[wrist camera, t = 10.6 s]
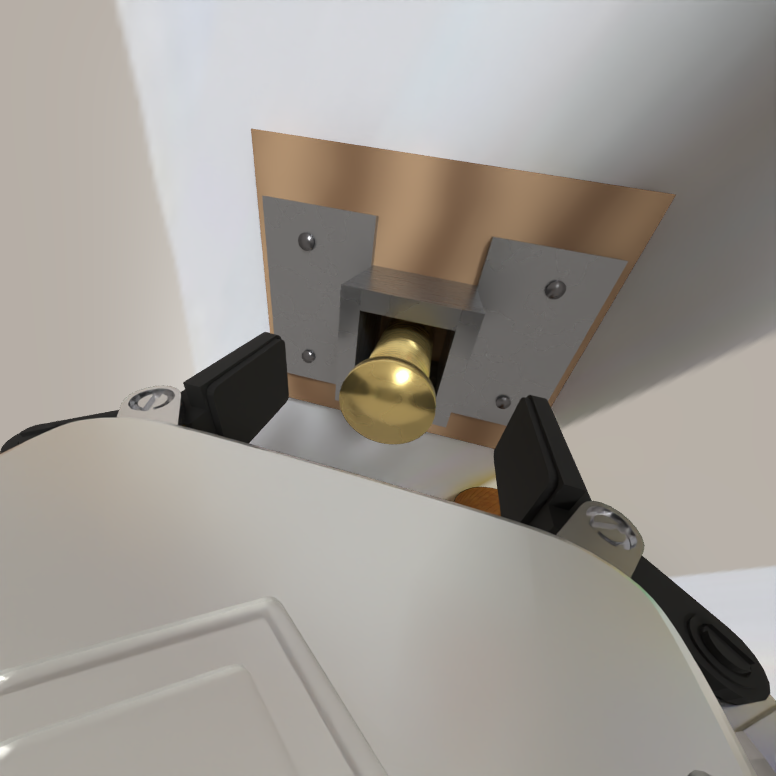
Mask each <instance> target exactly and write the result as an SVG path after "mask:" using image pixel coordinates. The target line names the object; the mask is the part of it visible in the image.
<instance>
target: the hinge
mask: <svg viewBox="0 0 776 776" xmlns="http://www.w3.org/2000/svg"><path fill="white" fill-rule="evenodd" d="M262 200H263V212H264V224H265V235H266V247H267V258H268V270H269V281H270V293H271V305H272V316H273V328H274V334H276V335H279V336H280V337H281V339H282V340H284V342H285V348H286V362H287V373H291V374H295V375H299V376H304V377H308V378H312V379H316V380H320V381H324V382H328V383H332V384H336V392H335V400H337V401H339V393H340V389H341V386H342V384H343V382H344V380H345V379H346V377H347V376H348V374H349V373H350V371H351V370H352V369H353V368H354V367H355V366H356V365H357V364H359V363H360V362H362V361H364V360H366V359H369V357H370V356H371V354H372V352H373V350H374V349H375V347H376V345H377V343H378V342H379V335H380V328H381V320H382V315H383V316H388V317H393V318H397V319H402V320H407V321H411V322H416V323H421V324H425V325H430V326H435V327H439V328H444V329H448V330H447V333H446V337H445V341H444V344H443V348H442V351H441V355H440V359H439V362H438V361H433V360H431V365H430V374H429V379H430V381H431V383H432V385H433V387H434V390H435V393H436V410H435V417H434V420H433V423H432V424H434V425H438V426H442V427H446V426H447V423H448V420H449V417H450V414H451V412H452V413H456V414H460V415H464V416H468V417H472V418H476V419H480V420H485V421H489V422H493V423H497V424H501V425H505V426H507V424H508V422H509V420H510V418H511V416H512V414H513V413H514V411H515V409H516V407H517V405H518V403H519V401H520V399H521V398H522V397H525V398H526V397H527V396H528V395H533V396H537V397H542V398H546V399H547V400H549V399H550V397H551V395H552V393H553V392H554V390H555V388H556V386H557V385H558V383H559V381H560V380H561V378H562V376H563V374H564V373H565V371H566V369H567V367H568V366H569V364H570V362H571V360H572V359H573V357H574V355H575V353H576V352H577V350H578V348H579V346H580V345H581V343H582V341H583V339H584V338H585V336H586V334H587V332H588V331H589V329H590V327H591V325H592V324H593V322H594V320H595V319H596V317H597V315H598V313H599V312H600V310H601V308H602V306H603V305H604V303H605V301H606V299H607V298H608V296H609V294H610V292H611V291H612V289H613V287H614V285H615V284H616V282H617V280H618V278H619V277H620V275H621V273H622V271H623V270H624V268H625V266H626V264H627V263H628V261H626V260H622V259H616V258H611V257H605V256H599V255H594V254H588V253H583V252H577V251H571V250H566V249H560V248H555V247H549V246H544V245H538V244H532V243H527V242H521V241H516V240H510V239H505V238H499V237H493V236H492V238H491V241H490V245H489V248H488V251H487V254H486V257H485V261H484V264H483V267H482V270H481V274H480V277H479V280H478V283H477V285H471V284H466V283H461V282H456V281H451V280H446V279H441V278H436V277H431V276H426V275H421V274H416V273H411V272H406V271H400V270H395V269H390V268H385V267H380V266H375V265H374V255H375V246H376V237H377V228H378V218H379V216H376V215H371V214H365V213H360V212H354V211H348V210H343V209H337V208H332V207H326V206H320V205H315V204H309V203H304V202H298V201H293V200H287V199H281V198H276V197H270V196H262Z"/></svg>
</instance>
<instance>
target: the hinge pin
mask: <svg viewBox="0 0 776 776" xmlns="http://www.w3.org/2000/svg"><path fill="white" fill-rule="evenodd" d="M434 333H435V326H430V325H425V324H421V323H416V322H411V321H407V320H402V319H397V318H393V317H392V319H391V320H390V322H389V324H388V326H387V327H386V329H385V331H384V333H383V334H382V336H381V338H380V340H379V342H378V343H377V345H376V347H375V349H374V350H373V352H372V354H371V356H370V357H369V359H366V360H364V361H362V362H360V363H359V364H357V365H356V366H355V367H354V368H353V369H352V370H351V371H350V373H349V374H348V376H347V377H346V379H345V380H344V382H343V384H342V386H341V389H340V393H339V404H340V408H341V412H342V414H343V416H344V418H345V419H346V421H347V422H348V423H349V425H350V426H351V427H352V428H353V429H354V430H356V431H357V432H358V433H359V434H361V435H363V436H364V437H366V438H368V439H370V440H373V441H376V442H379V443H384V444H403V443H407V442H410V441H413V440H415V439H417V438H419V437H420V436H422V435H423V434H424V433H425V432H426V431H427V430H428V429H429V428H430V426H431V425H432V423H433V420H434V417H435V410H436V393H435V390H434V387H433V385H432V383H431V381H430V379H429V374H430V365H431V357H432V349H433V341H434Z"/></svg>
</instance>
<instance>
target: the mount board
mask: <svg viewBox="0 0 776 776" xmlns="http://www.w3.org/2000/svg"><path fill="white" fill-rule="evenodd" d="M251 134H252V144H253V155H254V166H255V176H256V187H257V197H258V208H259V219H260V229H261V240H262V251H263V261H264V272H265V282H266V293H267V304H268V314H269V325H270V333H271V334H274V328H273V316H272V305H271V293H270V281H269V270H268V258H267V247H266V235H265V224H264V212H263V200H262V196H270V197H276V198H281V199H287V200H293V201H298V202H304V203H309V204H315V205H320V206H326V207H332V208H337V209H343V210H348V211H354V212H360V213H365V214H371V215H376V216H379V218H378V228H377V237H376V246H375V255H374V265H375V266H380V267H385V268H390V269H395V270H400V271H406V272H411V273H416V274H421V275H426V276H431V277H436V278H441V279H446V280H451V281H456V282H461V283H466V284H471V285H477V283H478V280H479V277H480V274H481V270H482V267H483V264H484V261H485V257H486V254H487V251H488V248H489V245H490V241H491V238H492V236H493V237H499V238H505V239H510V240H516V241H521V242H527V243H532V244H538V245H544V246H549V247H555V248H560V249H566V250H571V251H577V252H583V253H588V254H594V255H599V256H605V257H611V258H616V259H622V260H626V261H628V263H627V264H626V266H625V268H624V270H623V271H622V273H621V275H620V277H619V278H618V280H617V282H616V284H615V285H614V287H613V289H612V291H611V292H610V294H609V296H608V298H607V299H606V301H605V303H604V305H603V306H602V308H601V310H600V312H599V313H598V315H597V317H596V319H595V320H594V322H593V324H592V325H591V327H590V329H589V331H588V332H587V334H586V336H585V338H584V339H583V341H582V343H581V345H580V346H579V348H578V350H577V352H576V353H575V355H574V357H573V359H572V360H571V362H570V364H569V366H568V367H567V369H566V371H565V373H564V374H563V376H562V378H561V380H560V381H559V383H558V385H557V386H556V388H555V390H554V392H553V393H552V395H551V397H550V399H549V400H548V402H549V405H550V407H551V406H552V404H553V403H554V401H555V399H556V398H557V396H558V394H559V393H560V391H561V389H562V387H563V386H564V384H565V382H566V381H567V379H568V377H569V376H570V374H571V372H572V371H573V369H574V367H575V365H576V364H577V362H578V360H579V359H580V357H581V355H582V354H583V352H584V350H585V348H586V347H587V345H588V343H589V342H590V340H591V338H592V337H593V335H594V333H595V331H596V330H597V328H598V326H599V325H600V323H601V321H602V320H603V318H604V316H605V315H606V313H607V311H608V309H609V308H610V306H611V304H612V303H613V301H614V299H615V298H616V296H617V294H618V292H619V291H620V289H621V287H622V286H623V284H624V282H625V281H626V279H627V277H628V275H629V274H630V272H631V270H632V269H633V267H634V265H635V264H636V262H637V260H638V259H639V257H640V255H641V253H642V252H643V250H644V248H645V247H646V245H647V243H648V242H649V240H650V238H651V236H652V235H653V233H654V231H655V230H656V228H657V226H658V225H659V223H660V221H661V220H662V218H663V216H664V214H665V213H666V211H667V209H668V208H669V206H670V204H671V203H672V201H673V199H674V197H675V196H676V195H675V194H669V193H662V192H656V191H649V190H643V189H637V188H630V187H624V186H617V185H611V184H604V183H598V182H591V181H585V180H579V179H572V178H566V177H559V176H553V175H546V174H540V173H533V172H527V171H521V170H514V169H508V168H501V167H495V166H488V165H482V164H475V163H469V162H463V161H456V160H450V159H443V158H437V157H430V156H424V155H418V154H411V153H405V152H398V151H392V150H385V149H379V148H372V147H366V146H360V145H353V144H347V143H340V142H334V141H327V140H321V139H314V138H308V137H302V136H295V135H289V134H282V133H276V132H269V131H263V130H257V129H251ZM391 319H392V317H388V316H383V315H382V320H381V328H380V335H379V340H380V338H381V336H382V334H383V333H384V331H385V329H386V327H387V326H388V324H389V322H390V320H391ZM447 330H448V329H444V328H439V327H435V333H434V341H433V349H432V357H431V360H433V361H438V362H439V359H440V355H441V351H442V348H443V344H444V341H445V337H446V333H447ZM287 375H288V388H289V397H291V398H295V399H299V400H303V401H307V402H311V403H315V404H319V405H323V406H327V407H331V408H335V409H338V410H341V408H340V404H339V401H337V400H335V392H336V384H332V383H328V382H324V381H320V380H316V379H312V378H308V377H304V376H299V375H295V374H291V373H287ZM505 428H506V426H505V425H501V424H497V423H493V422H489V421H485V420H480V419H476V418H472V417H468V416H464V415H460V414H456V413H452V412H451V414H450V417H449V420H448V423H447V426H446V427H442V426H438V425H434V424H432V425H431V426H430V428H429V429H428V430H427V431H426V432H430V433H434V434H438V435H442V436H446V437H450V438H454V439H458V440H462V441H466V442H470V443H474V444H477V445H481V446H485V447H489V448H493V449H495V448H496V446H497V444H498V442H499V440H500V438H501V436H502V434H503V432H504V430H505Z"/></svg>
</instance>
